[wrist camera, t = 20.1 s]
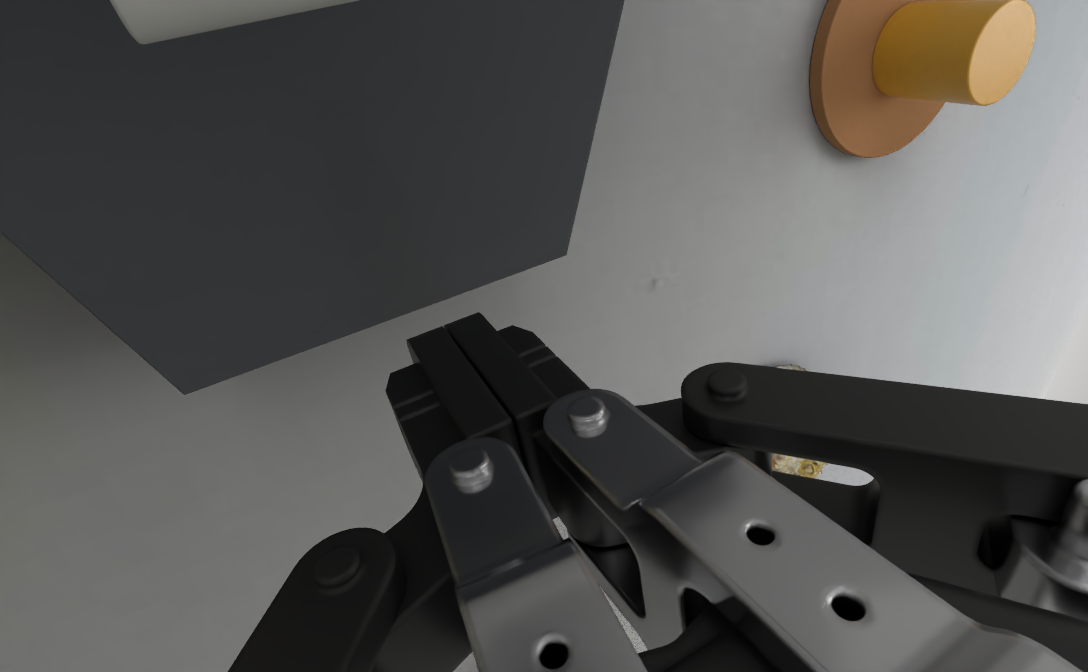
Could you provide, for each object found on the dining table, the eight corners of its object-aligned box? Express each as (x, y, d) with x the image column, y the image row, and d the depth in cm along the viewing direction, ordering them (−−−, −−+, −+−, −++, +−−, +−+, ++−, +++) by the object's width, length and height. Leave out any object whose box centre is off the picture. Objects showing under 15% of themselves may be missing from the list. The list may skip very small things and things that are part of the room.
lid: (-743, -478, 5) (-1051, -193, 3) (697, -452, 9) (913, -323, 7) (179, 376, 19) (214, 507, 17) (558, 241, 23) (616, 337, 21)
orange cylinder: (859, 55, 30) (957, 59, 26) (917, -19, 30) (1025, -26, 26) (889, 114, 33) (982, 125, 29) (942, 46, 33) (1044, 49, 28)
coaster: (775, 59, 29) (788, 60, 29) (925, -136, 28) (942, -140, 28) (859, 194, 36) (871, 197, 35) (983, 38, 35) (997, 38, 34)
